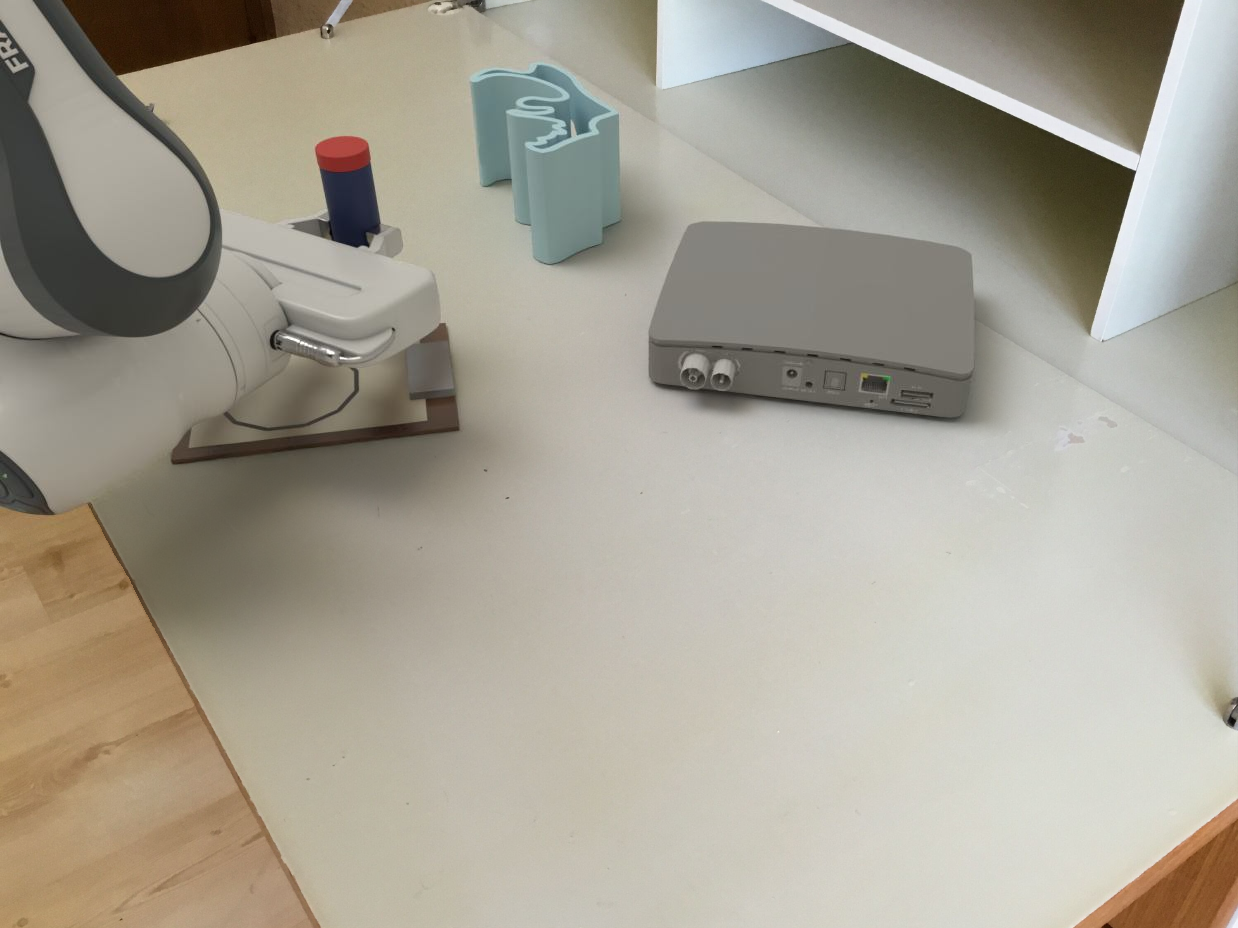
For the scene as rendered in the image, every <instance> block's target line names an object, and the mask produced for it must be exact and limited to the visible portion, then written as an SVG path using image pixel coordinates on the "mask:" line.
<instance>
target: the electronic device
mask: <svg viewBox="0 0 1238 928" xmlns="http://www.w3.org/2000/svg"><path fill="white" fill-rule="evenodd" d="M973 271H974V270H973V258H972V253H971V252H970V251H968V250H966V249H965V248H962V247H959V246H957V245H950V244H946V243H945V244H944V243H940V242H935V241H929V240H923V239H916V238H910V237H904V236H898V235H890V234H885V233H876V232H875V233H874V232H869V231H868V232H867V231H859V230H853V229H852V230H850V229H843V228H834V227H833V228H832V227H821V226H812V225H811V226H810V225H797V224H785V223H768V222H748V221H747V222H746V221H715V220H714V221H713V220H712V221H711V220H710V221H709V220H708V221H707V220H705V221H704V220H702V221H698V222H693V223H690V224H688V225H687V227H686V229H685V231H684V232H683V235H682V236H681V240H680V241H679V244H678V246H677V247H676V251H675V253H674V255H673V258H672V260H671V263H670V266H669V268H668V271H667V273H666V276H665V279H664V282H663V285H662V287H661V291H660V294H659V297H658V299H657V302H656V305H655V307H654V310H653V315H652V318H651V321H650V325H649V328H648V334H647V335H648V377H649V379H650V380H651V381H652V382H654V383H657V384H661V385H669V386H677V387H684V388H687V389H689V390H700V389H703V390H711V391H712V390H713V391H719V392H720V391H721V392H729V393H737V394H744V395H745V394H746V395H753V396H762V397H770V398H778V399H788V400H797V401H803V402H813V403H820V404H821V403H822V404H830V405H837V406H838V405H839V406H846V407H855V408H864V409H872V410H881V411H888V412H899V413H904V414H905V413H906V414H915V415H924V416H933V417H939V418H951V419H953V418H957V417H960V416H961V415H962V414H964V412H965V410H966V404H967V401H968V395H969V391H970V387H971V382H972V377H973V372H974V369H975V292H974V289H975V288H974V272H973Z"/></svg>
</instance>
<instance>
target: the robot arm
mask: <svg viewBox="0 0 1238 928" xmlns="http://www.w3.org/2000/svg"><path fill="white" fill-rule="evenodd" d="M146 106H147V105H145V104H144V102H142V101H141V100H140V99H139V98H138V97H137V96H136V95H135V94H134V93H133V92H132V91H131V90H130V89H129V88H128V87H127V85H126V84H125V83H124V82H123V81H122V80H121V79H120V78H119V76H117V74H116V73H115V72H114V70H113V69H112V68H111V67H110V66H109V65H108V63H107V62H106V61H105V59H104V58H103V57H102V55H101V54H100V53H99V51H98V50H97V48H96V47H95V46H94V45H93V43H92V42H91V40H90V39H89V37H88V36H87V35H86V33H85V32H84V31H83V29H82V27H81V26H80V25H79V23H78V22H77V20H76V19H75V18H74V15H72V14H71V12H70V11H69V9H68V7H67V6H66V5H65V3H64V2H63V1H62V0H0V507H1V508H4V509H6V510H7V509H8V510H10V511H15V512H18V513H22V514H28V515H34V516H35V515H36V516H58V515H63V514H65V513H69V512H71V511H74V510H76V509H79V508H81V507H83V506H85V505H87V504H89V503H92V502H93V501H95V500H97V499H99V498H101V497H102V496H104V495H106V494H107V493H110V492H112V491H113V490H114V489H116V488H118V487H120V486H121V485H123V484H124V483H126V482H127V481H129V480H131V479H133V478H134V477H136V476H137V475H138V474H140V473H142V472H143V471H144V470H146V469H147V468H150V466H152V465H153V464H155V463H156V462H158V461H160V460H161V459H162V458H163V457H165V456H166V455H168V454H169V453H170V452H172V450H173V449H174V448H175V447H176V446H177V444H178V443H179V442H180V440H181V439H182V437H183V436H184V435H185V433H186V432H187V431H188V430H189V429H190V428H192V427H193V426H195V425H196V424H198V423H200V422H203V421H206V420H210V419H212V418H215V417H218V416H220V415H222V414H223V413H225V412H226V411H228V410H229V409H231V408H232V407H233V406H235V405H236V404H238V403H239V402H241V401H242V400H243V399H245V398H246V397H248V396H249V395H250V394H252V393H253V392H255V391H256V390H257V389H259V388H260V387H261V386H263V385H264V384H266V383H267V382H268V381H270V380H271V379H273V378H274V377H276V376H277V375H278V374H280V373H281V372H282V371H283V370H284V369H285V368H286V367H287V365H288V363H289V361H290V358H291V354H293V355H296V356H300V357H305V358H309V359H312V360H316V361H317V362H318V363H320V364H322V365H325V366H328V367H336V368H337V367H340V366H344V367H349V368H363V367H368V366H372V365H375V364H377V363H380V362H382V361H384V360H386V359H388V358H390V357H392V356H394V355H395V354H397V353H399V352H401V351H402V350H404V349H406V348H408V347H409V346H411V345H413V344H414V343H416V342H417V341H419V340H420V339H422V338H423V337H425V336H426V335H428V334H429V333H431V332H432V331H434V330H435V329H436V328H437V327H438V325H439V323H441V319H442V307H441V298H440V292H439V287H438V283H437V278H436V276H435V273H434V272H433V271H432V270H431V269H429V268H427V267H424V266H420V265H416V264H413V263H409V262H407V261H403V260H400V259H396V258H395V257H396V256H398V255H399V254H401V252H402V251H403V248H404V242H403V235H402V231H401V229H400V227H396V226H391V225H387V224H384V223H381V224H380V223H379V224H377V225H376V227H374V228H371V229H369V230H368V231H366V238H367V242H368V243H369V247H366V246H360V247H358V248H355V247H352V246H349V245H345V244H342V243H338V242H335V241H334V239H333V234H332V229H331V224H330V219H329V214H328V209H327V207H323V208H322V209H321V210H318V212H316V213H313V214H312V215H307V216H301V217H295V218H290V219H288V218H287V219H283V220H279V221H277V222H276V223H275V222H274V223H273V222H270V221H266V220H263V219H260V218H257V217H253V216H249V215H246V214H243V213H240V212H236V211H233V210H228V209H225V208H222V207H220V205H219V203H218V199H217V196H216V193H215V191H214V188H213V186H212V184H211V181H210V179H209V178H208V176H207V173H206V172H205V170H204V168H203V166H202V165H201V163H200V162H199V160H198V159H197V156H196V155H195V154H194V153H193V152H192V150H190V148H189V147H188V145H187V144H186V143H185V142H184V141H183V140H182V139H181V138H180V137H179V135H177V134H176V133H175V132H174V130H172V128H171V127H170V126H168V125H167V124H166V123H165V122H164V121H163V120H162V119H161V118H159V116H158V115H156V114H155V113H154V111H153V112H152V111H151V110H150V109H149V108H147V107H146Z"/></svg>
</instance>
